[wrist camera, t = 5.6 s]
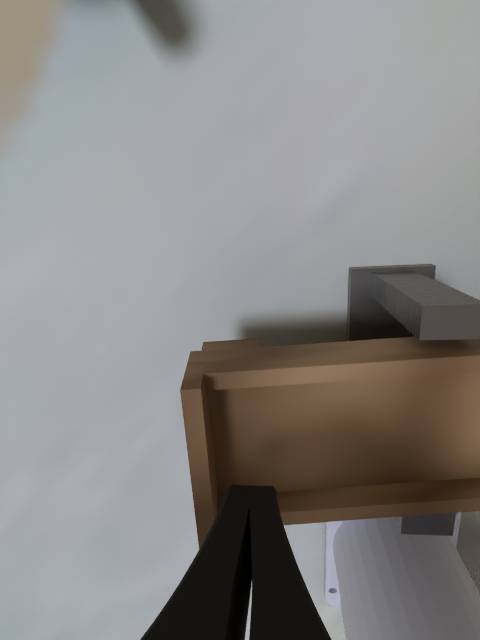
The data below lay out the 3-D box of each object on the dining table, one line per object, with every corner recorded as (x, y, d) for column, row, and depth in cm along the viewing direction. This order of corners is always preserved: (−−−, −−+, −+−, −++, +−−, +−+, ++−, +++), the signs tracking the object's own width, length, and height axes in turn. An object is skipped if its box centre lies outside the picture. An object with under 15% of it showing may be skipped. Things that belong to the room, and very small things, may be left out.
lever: (710, 20, 12) (1010, -98, 8) (597, 431, 17) (737, 516, 13) (166, 50, 12) (127, -54, 7) (208, 459, 17) (200, 555, 12)
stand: (430, 263, 18) (522, 296, 11) (413, 434, 21) (478, 540, 14) (349, 267, 18) (391, 300, 12) (343, 434, 21) (374, 537, 15)
